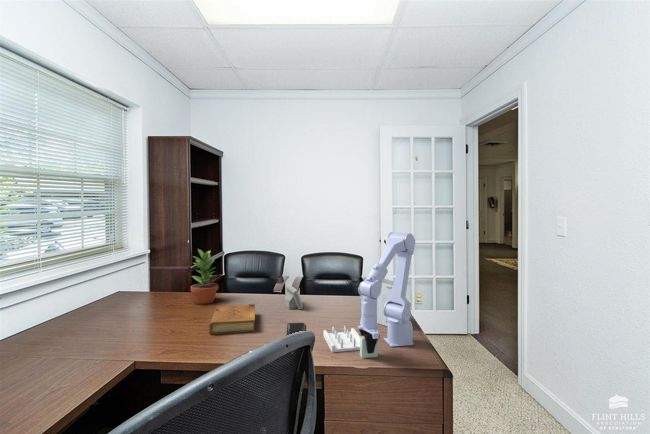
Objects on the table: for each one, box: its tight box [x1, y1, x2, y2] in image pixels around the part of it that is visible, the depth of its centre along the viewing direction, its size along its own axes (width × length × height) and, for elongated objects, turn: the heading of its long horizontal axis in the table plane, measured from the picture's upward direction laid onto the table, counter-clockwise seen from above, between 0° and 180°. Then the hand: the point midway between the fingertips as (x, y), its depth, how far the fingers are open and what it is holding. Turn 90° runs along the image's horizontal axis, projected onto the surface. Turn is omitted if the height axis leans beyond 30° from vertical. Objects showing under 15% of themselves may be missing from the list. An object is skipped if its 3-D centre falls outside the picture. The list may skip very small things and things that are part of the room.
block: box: [359, 335, 379, 359], centre depth 120 cm, size 6×2×7 cm, turn 102°
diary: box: [208, 303, 256, 335], centre depth 152 cm, size 23×19×6 cm
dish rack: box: [323, 325, 361, 353], centre depth 132 cm, size 13×16×4 cm
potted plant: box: [190, 248, 219, 305], centre depth 186 cm, size 15×15×30 cm
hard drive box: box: [377, 278, 401, 327], centre depth 154 cm, size 16×8×20 cm, turn 47°
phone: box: [286, 322, 306, 336], centre depth 144 cm, size 8×1×15 cm
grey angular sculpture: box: [283, 284, 304, 310], centre depth 178 cm, size 16×9×11 cm, turn 12°
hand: (368, 350), depth 120 cm, fingers open, 3 cm apart
